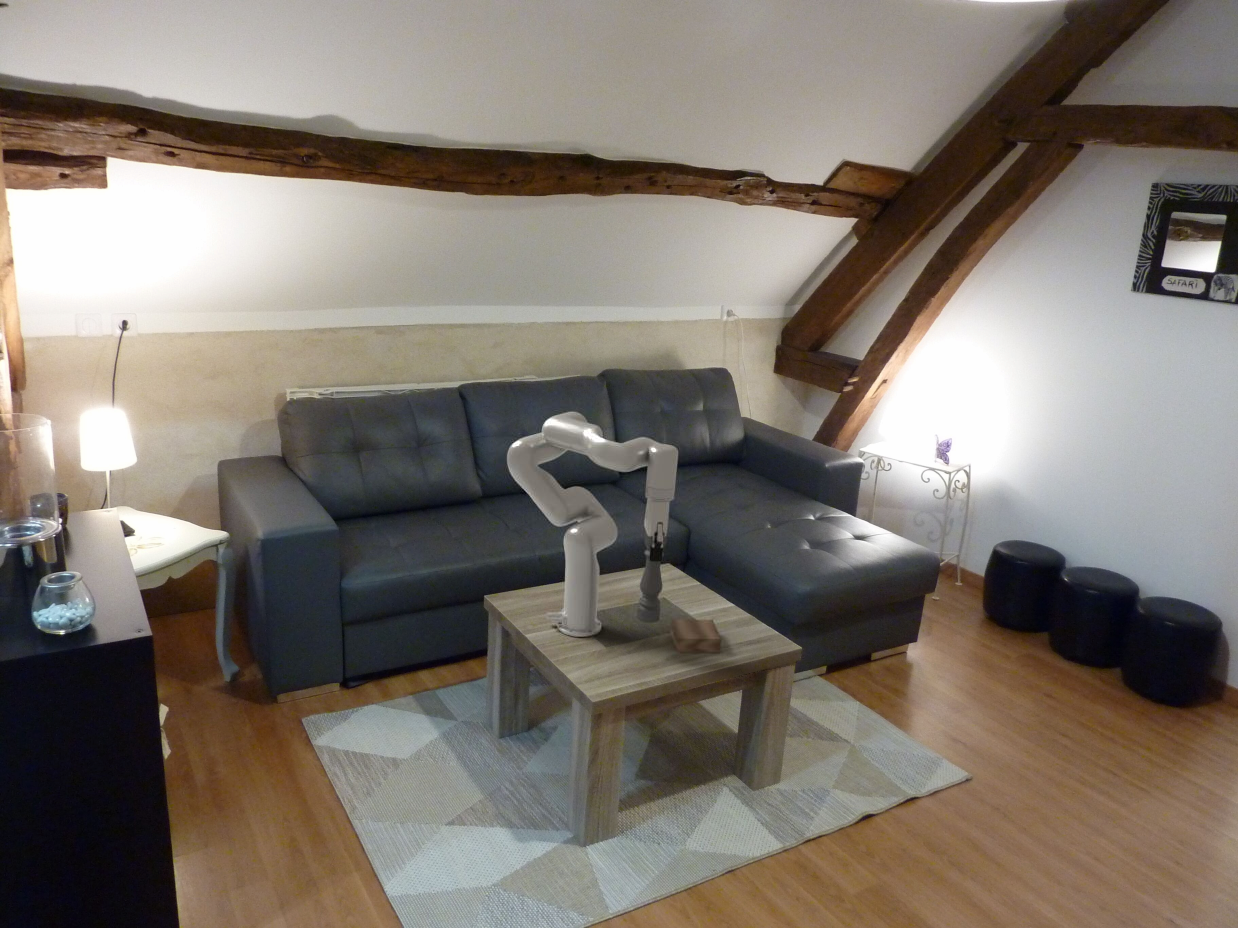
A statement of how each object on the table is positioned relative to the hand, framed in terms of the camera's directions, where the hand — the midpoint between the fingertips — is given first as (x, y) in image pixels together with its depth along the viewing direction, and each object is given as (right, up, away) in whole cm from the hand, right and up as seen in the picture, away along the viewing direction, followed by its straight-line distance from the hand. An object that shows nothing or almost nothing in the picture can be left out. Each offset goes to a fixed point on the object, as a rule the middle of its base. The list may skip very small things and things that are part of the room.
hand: (653, 555), depth 253 cm
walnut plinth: (+12, -26, +15) cm, 32 cm away
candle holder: (-1, -17, +5) cm, 18 cm away
